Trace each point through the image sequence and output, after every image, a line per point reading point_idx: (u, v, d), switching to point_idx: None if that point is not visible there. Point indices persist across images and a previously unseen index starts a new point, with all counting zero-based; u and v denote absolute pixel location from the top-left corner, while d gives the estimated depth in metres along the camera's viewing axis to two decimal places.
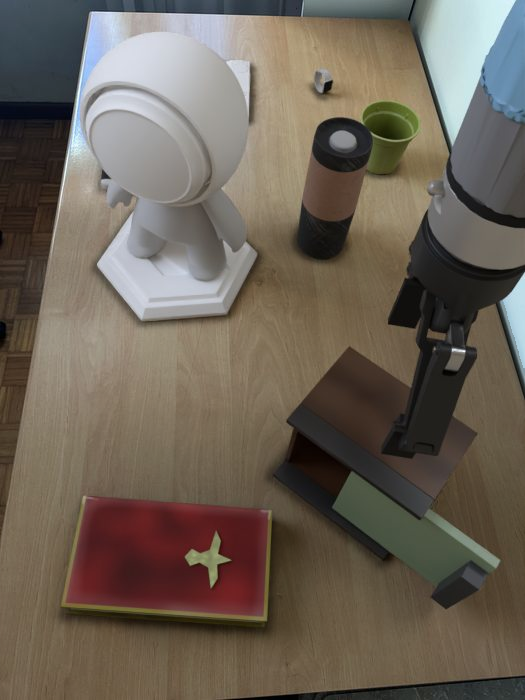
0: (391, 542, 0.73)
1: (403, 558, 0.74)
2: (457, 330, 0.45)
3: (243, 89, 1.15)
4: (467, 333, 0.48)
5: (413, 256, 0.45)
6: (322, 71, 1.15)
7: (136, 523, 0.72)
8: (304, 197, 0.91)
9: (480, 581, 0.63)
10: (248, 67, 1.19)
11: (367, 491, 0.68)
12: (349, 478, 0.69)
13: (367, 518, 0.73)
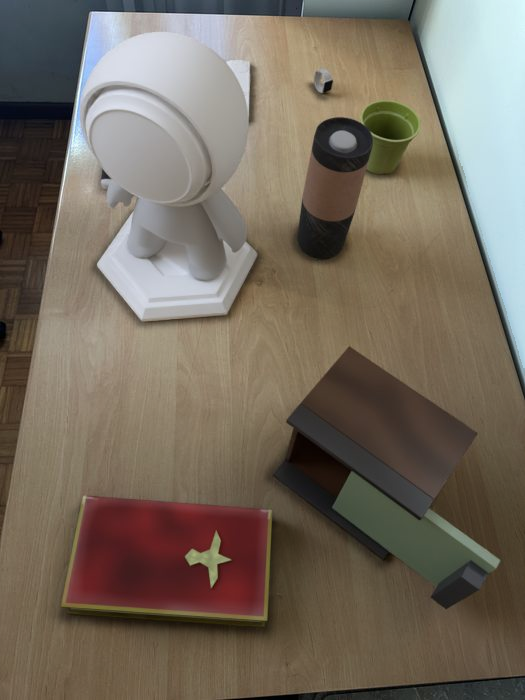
0: (391, 542, 0.73)
1: (403, 558, 0.74)
2: None
3: (243, 89, 1.15)
4: None
5: None
6: (322, 71, 1.15)
7: (137, 523, 0.72)
8: (304, 197, 0.91)
9: (480, 581, 0.63)
10: (248, 67, 1.19)
11: (367, 491, 0.68)
12: (349, 478, 0.69)
13: (367, 518, 0.73)
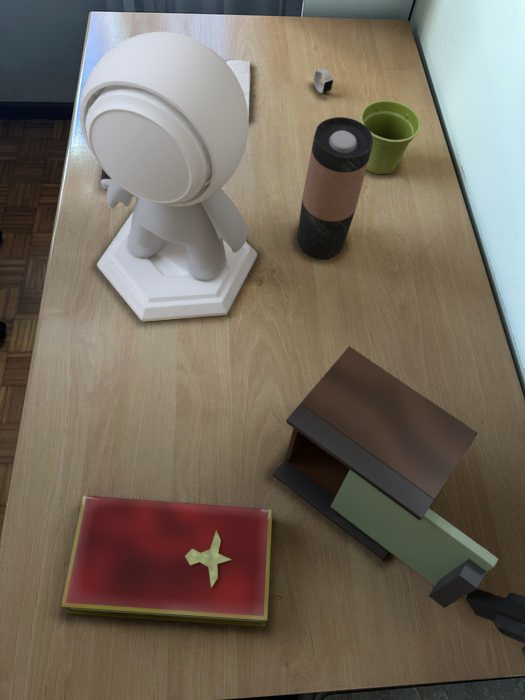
0: (389, 541, 0.73)
1: (401, 557, 0.74)
2: None
3: (243, 89, 1.15)
4: None
5: None
6: (322, 71, 1.15)
7: (137, 522, 0.72)
8: (304, 197, 0.91)
9: (478, 579, 0.63)
10: (248, 67, 1.19)
11: (365, 490, 0.68)
12: (347, 477, 0.69)
13: (365, 517, 0.73)
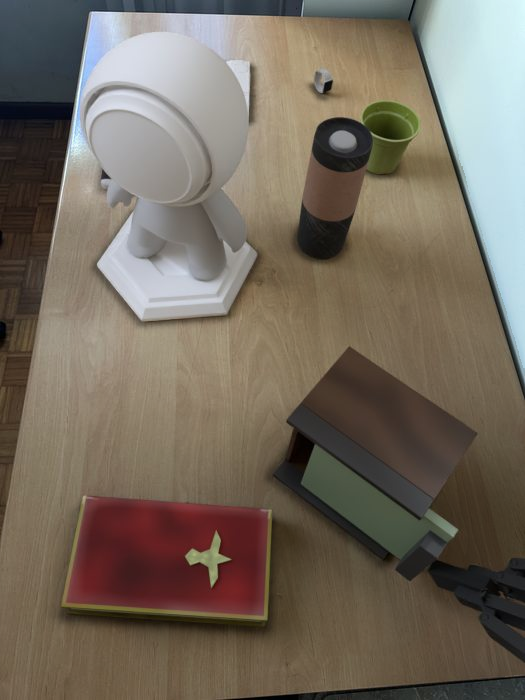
0: (357, 516, 0.74)
1: (369, 532, 0.75)
2: None
3: (243, 89, 1.15)
4: None
5: None
6: (322, 71, 1.15)
7: (137, 522, 0.72)
8: (304, 197, 0.91)
9: (438, 550, 0.64)
10: (248, 67, 1.19)
11: (331, 464, 0.69)
12: (313, 452, 0.70)
13: (333, 492, 0.74)
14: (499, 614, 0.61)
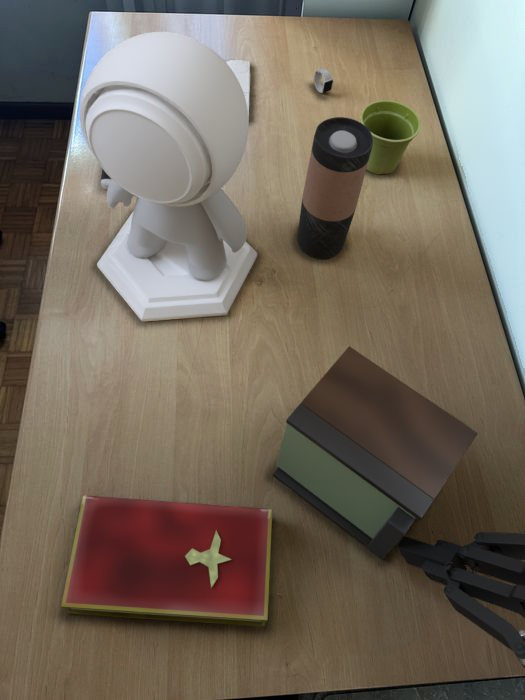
0: (330, 496, 0.75)
1: (342, 512, 0.76)
2: None
3: (243, 89, 1.15)
4: None
5: None
6: (322, 71, 1.15)
7: (137, 522, 0.72)
8: (304, 197, 0.91)
9: (406, 526, 0.65)
10: (248, 67, 1.19)
11: (302, 443, 0.70)
12: (285, 431, 0.71)
13: (306, 472, 0.75)
14: (464, 587, 0.62)
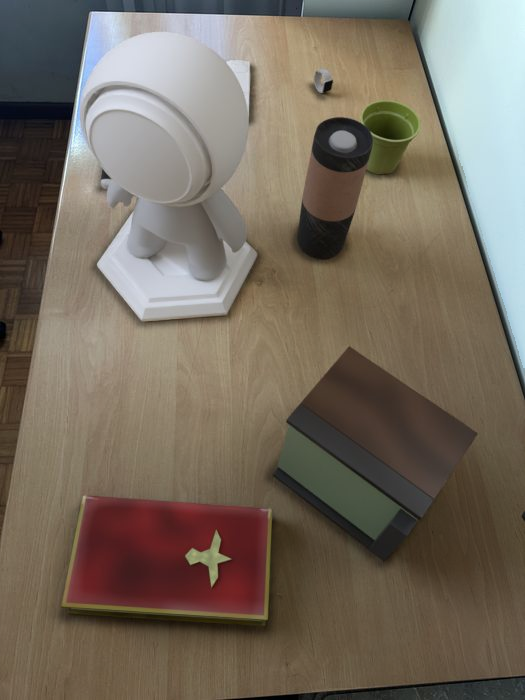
0: (332, 497, 0.75)
1: (344, 513, 0.76)
2: None
3: (243, 89, 1.15)
4: None
5: None
6: (322, 71, 1.15)
7: (137, 522, 0.72)
8: (304, 197, 0.91)
9: (408, 528, 0.65)
10: (248, 67, 1.19)
11: (305, 445, 0.70)
12: (287, 432, 0.71)
13: (308, 474, 0.75)
14: None
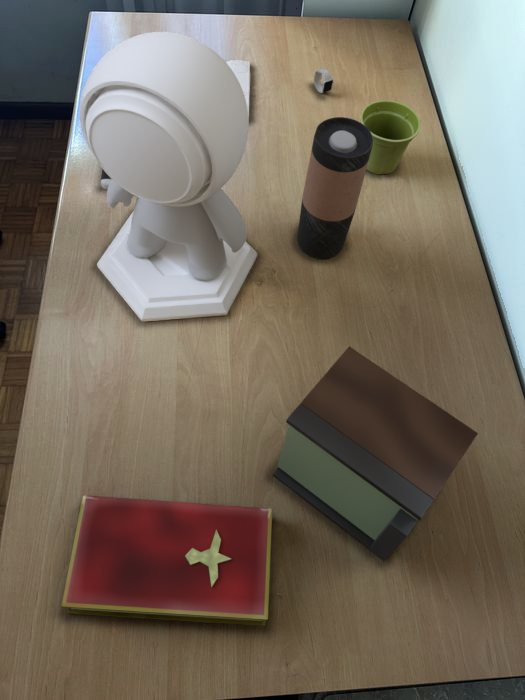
0: (332, 497, 0.75)
1: (344, 513, 0.76)
2: None
3: (243, 89, 1.15)
4: None
5: None
6: (322, 71, 1.15)
7: (137, 522, 0.72)
8: (304, 197, 0.91)
9: (408, 528, 0.65)
10: (248, 67, 1.19)
11: (305, 445, 0.70)
12: (287, 432, 0.71)
13: (308, 474, 0.75)
14: None
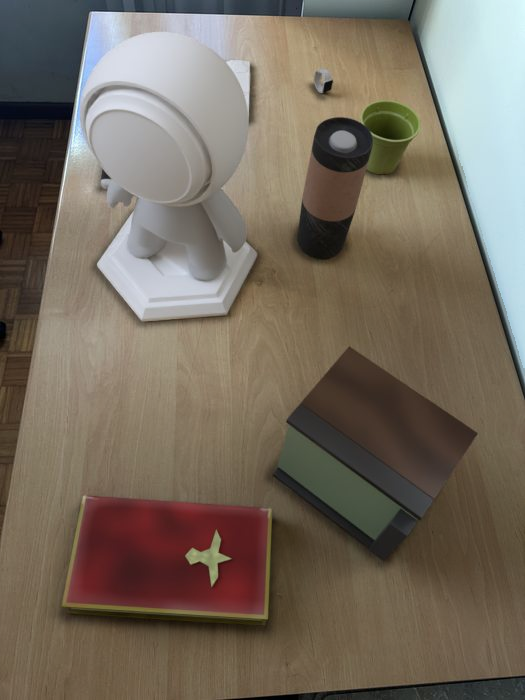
0: (332, 497, 0.75)
1: (344, 513, 0.76)
2: None
3: (243, 89, 1.15)
4: None
5: None
6: (322, 71, 1.15)
7: (137, 522, 0.72)
8: (304, 197, 0.91)
9: (408, 528, 0.65)
10: (248, 67, 1.19)
11: (305, 445, 0.70)
12: (287, 432, 0.71)
13: (308, 474, 0.75)
14: None
